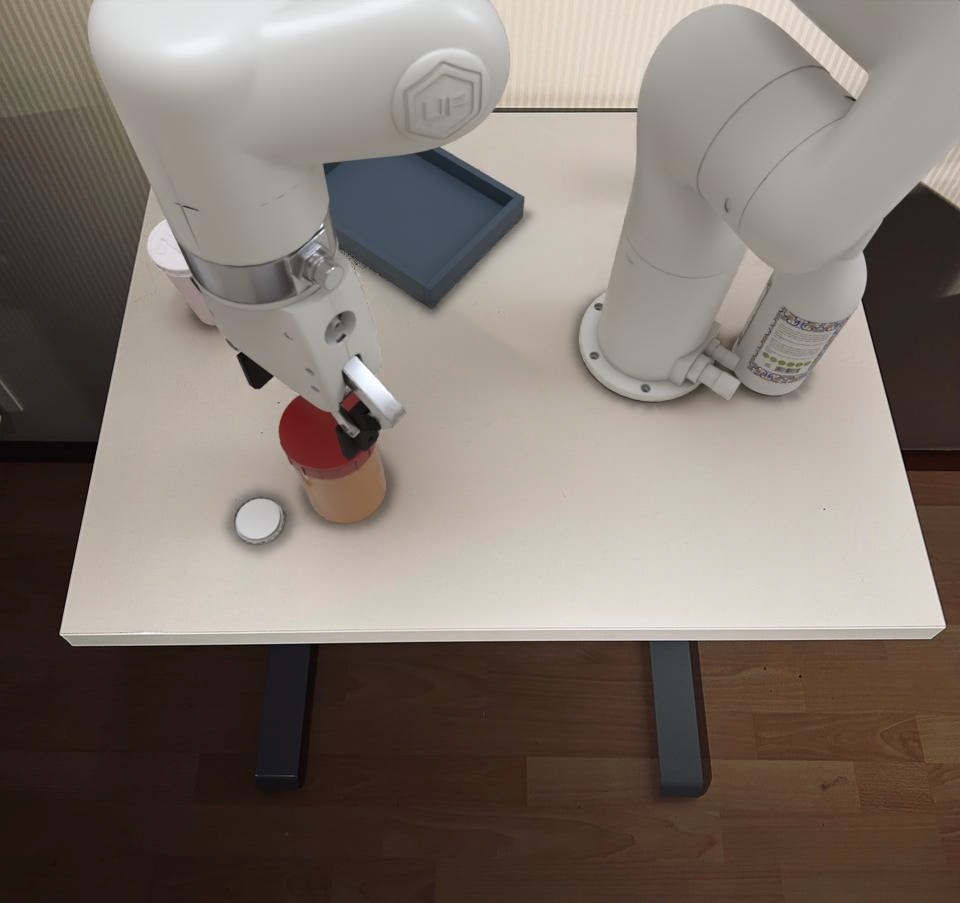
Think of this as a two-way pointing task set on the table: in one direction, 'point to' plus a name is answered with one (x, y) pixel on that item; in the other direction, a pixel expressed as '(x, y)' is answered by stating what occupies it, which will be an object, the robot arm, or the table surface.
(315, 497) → the jar
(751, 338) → the bath foam
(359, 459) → the lid
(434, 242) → the tray
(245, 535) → the white grey disc
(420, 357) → the table surface
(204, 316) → the smoothie
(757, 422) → the table surface
